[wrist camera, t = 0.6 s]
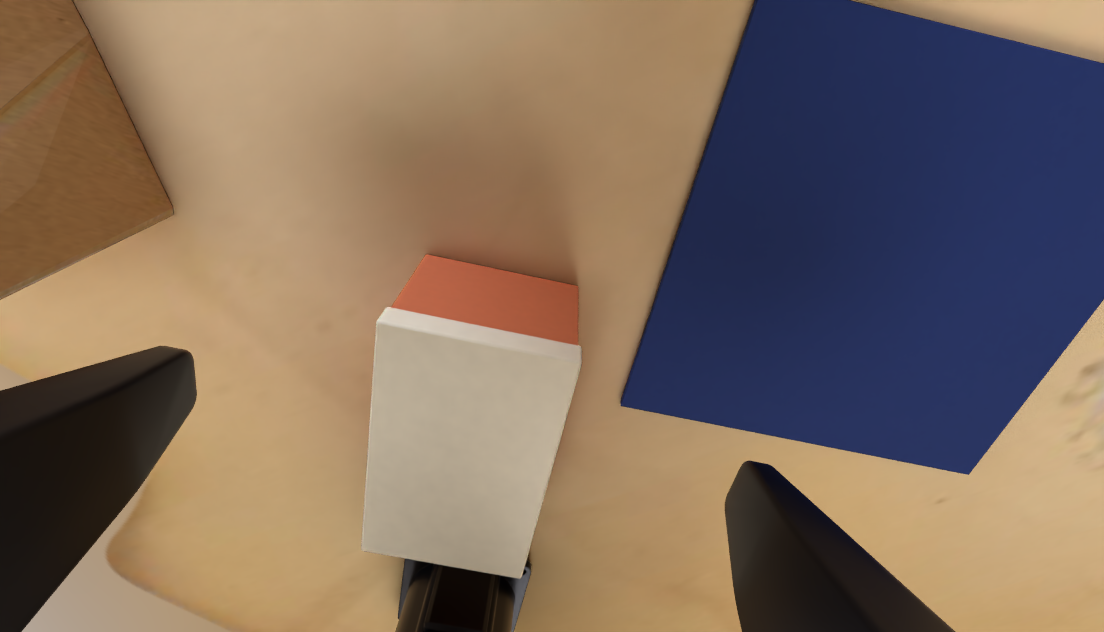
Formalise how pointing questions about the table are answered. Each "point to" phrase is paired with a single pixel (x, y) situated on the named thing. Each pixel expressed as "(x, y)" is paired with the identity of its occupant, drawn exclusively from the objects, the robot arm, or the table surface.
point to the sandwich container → (64, 148)
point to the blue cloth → (881, 236)
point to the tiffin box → (467, 414)
